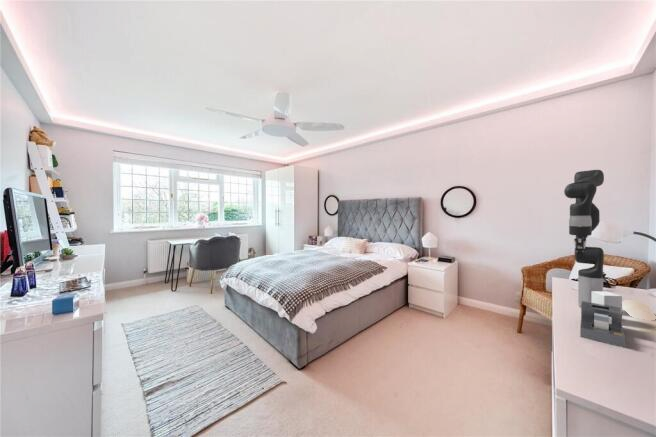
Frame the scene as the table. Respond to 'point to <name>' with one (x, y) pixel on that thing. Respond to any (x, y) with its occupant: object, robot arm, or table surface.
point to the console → (598, 334)
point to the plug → (602, 321)
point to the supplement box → (607, 299)
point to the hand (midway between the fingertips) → (580, 258)
